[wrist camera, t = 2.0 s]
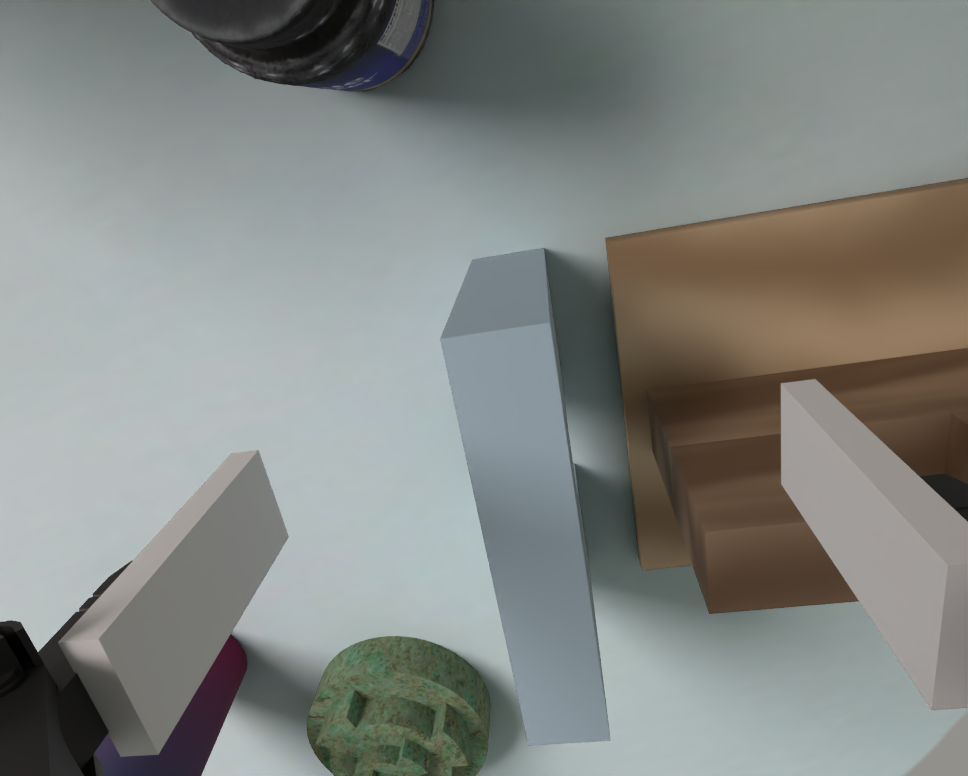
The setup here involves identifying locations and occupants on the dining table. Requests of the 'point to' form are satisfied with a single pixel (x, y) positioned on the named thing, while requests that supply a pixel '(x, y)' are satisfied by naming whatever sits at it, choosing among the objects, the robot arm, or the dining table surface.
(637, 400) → the jig
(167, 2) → the pill bottle
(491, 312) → the slotted plate
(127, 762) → the cup
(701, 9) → the dining table surface
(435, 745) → the decorative artifact
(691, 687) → the dining table surface
